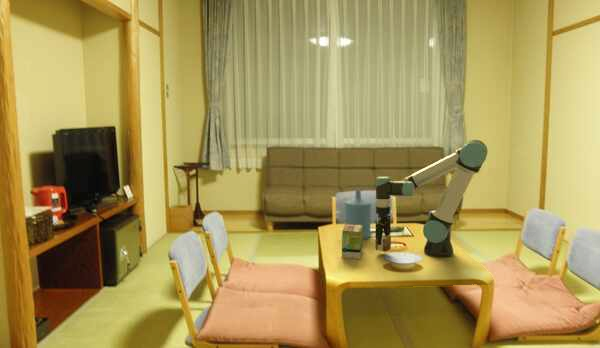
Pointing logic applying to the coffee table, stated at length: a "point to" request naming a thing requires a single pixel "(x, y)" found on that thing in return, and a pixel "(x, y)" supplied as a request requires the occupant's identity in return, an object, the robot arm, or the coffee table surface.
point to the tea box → (352, 241)
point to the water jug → (359, 213)
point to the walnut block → (385, 243)
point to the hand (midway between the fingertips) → (383, 248)
